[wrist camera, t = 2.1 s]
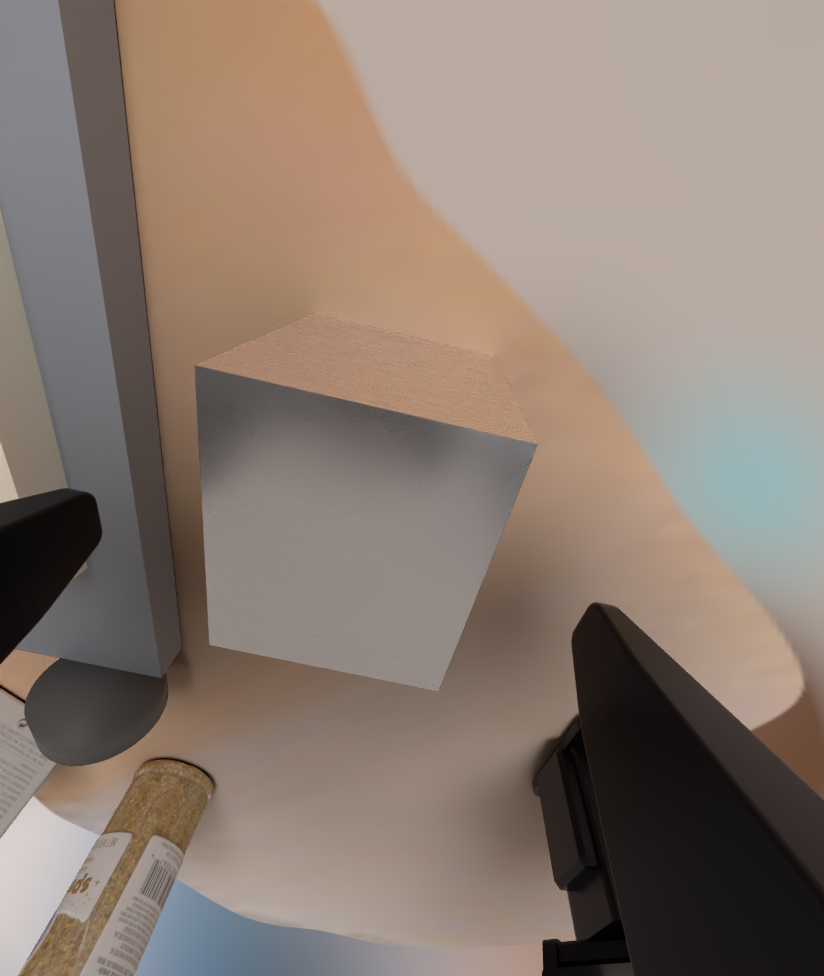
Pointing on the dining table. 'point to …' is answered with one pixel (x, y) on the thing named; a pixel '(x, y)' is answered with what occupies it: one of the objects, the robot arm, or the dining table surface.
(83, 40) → the chassis
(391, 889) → the dining table surface
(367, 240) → the dining table surface
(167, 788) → the sprinkles bottle
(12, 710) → the small box
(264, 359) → the block
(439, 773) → the dining table surface
